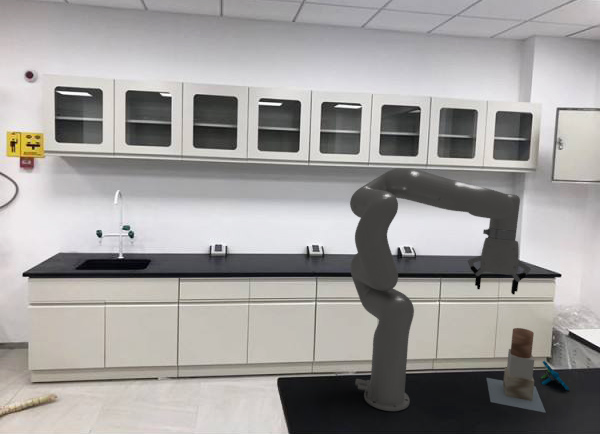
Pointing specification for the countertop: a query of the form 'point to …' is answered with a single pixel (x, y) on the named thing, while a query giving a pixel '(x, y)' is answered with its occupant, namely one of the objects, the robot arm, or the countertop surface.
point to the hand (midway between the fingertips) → (495, 290)
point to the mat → (499, 397)
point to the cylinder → (522, 343)
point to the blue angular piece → (552, 376)
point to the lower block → (518, 387)
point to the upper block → (520, 366)
